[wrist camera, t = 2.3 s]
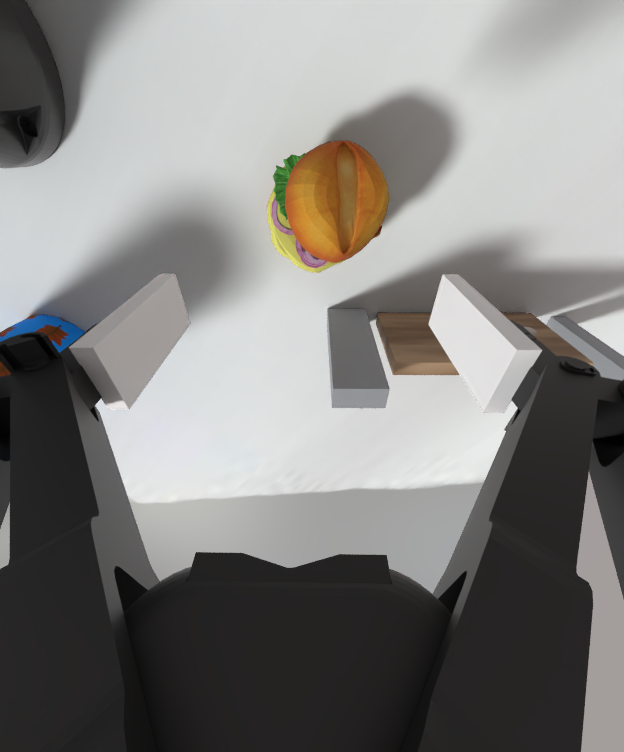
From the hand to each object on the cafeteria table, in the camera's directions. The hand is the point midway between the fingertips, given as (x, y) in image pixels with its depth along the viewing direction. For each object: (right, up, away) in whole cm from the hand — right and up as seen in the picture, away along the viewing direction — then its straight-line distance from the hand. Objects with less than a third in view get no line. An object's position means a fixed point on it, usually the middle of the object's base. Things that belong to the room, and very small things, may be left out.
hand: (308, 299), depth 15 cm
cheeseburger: (0, +14, +17) cm, 22 cm away
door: (+19, +4, +23) cm, 30 cm away
